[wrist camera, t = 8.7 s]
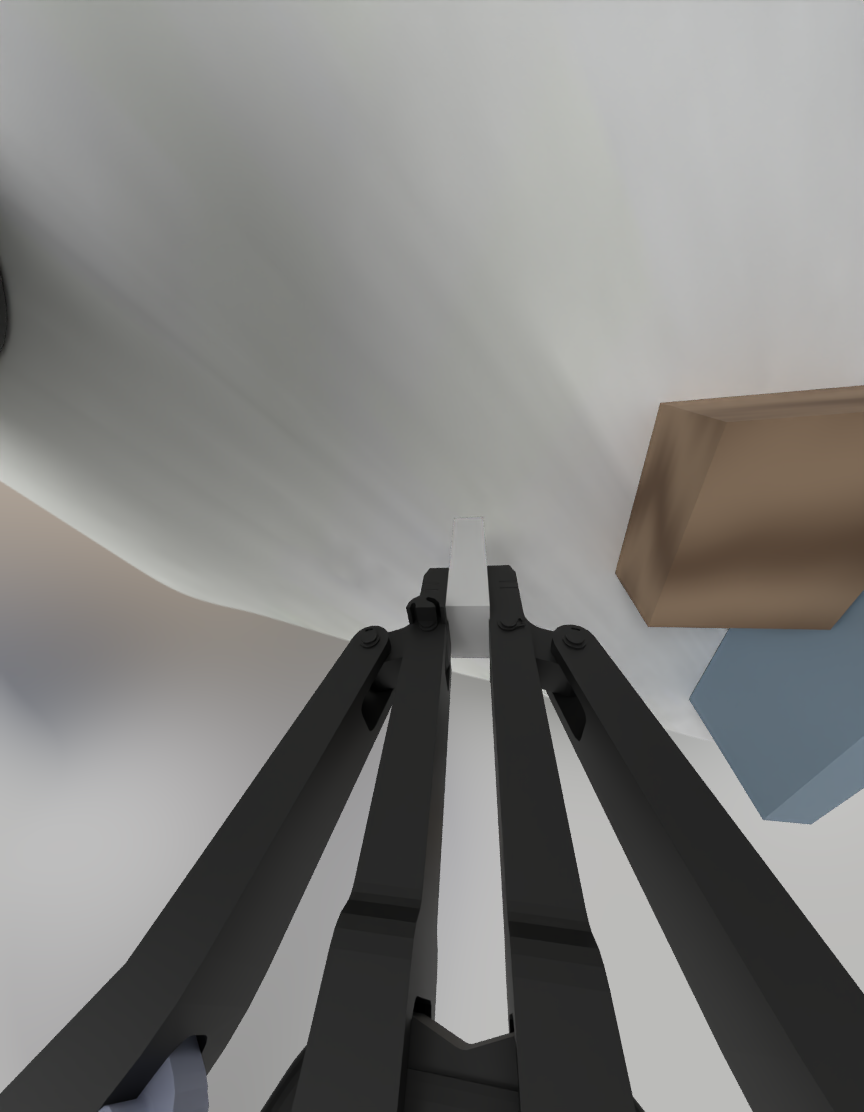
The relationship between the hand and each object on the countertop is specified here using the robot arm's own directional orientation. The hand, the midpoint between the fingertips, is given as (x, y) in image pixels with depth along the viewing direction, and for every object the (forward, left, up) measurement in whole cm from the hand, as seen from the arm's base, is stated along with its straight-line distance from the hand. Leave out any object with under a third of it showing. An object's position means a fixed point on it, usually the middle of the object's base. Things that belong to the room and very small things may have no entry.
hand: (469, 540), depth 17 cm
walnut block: (0, +13, -3) cm, 14 cm away
